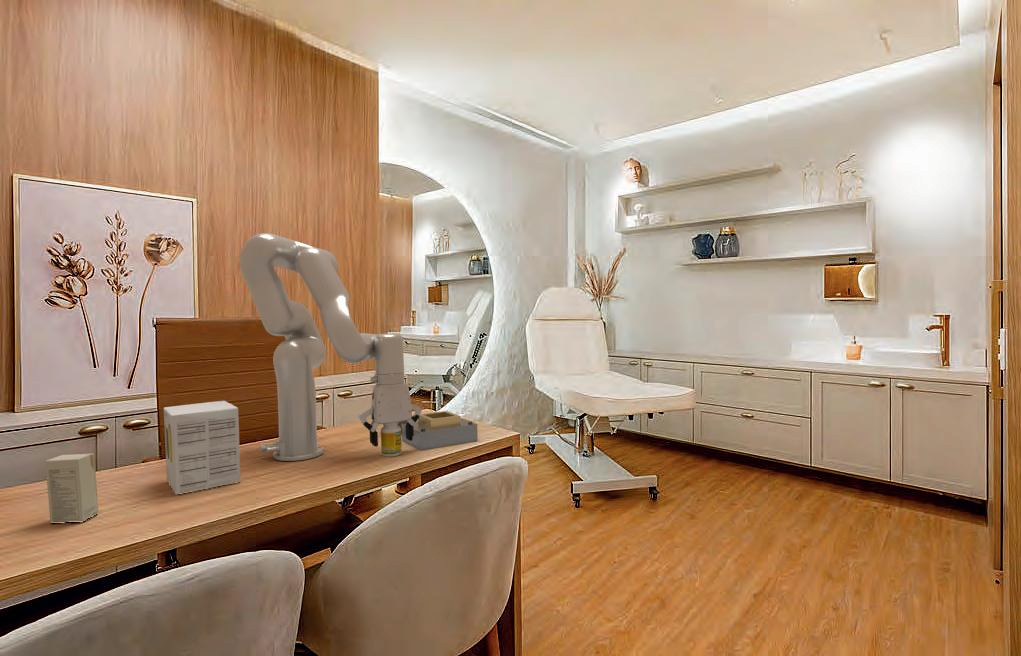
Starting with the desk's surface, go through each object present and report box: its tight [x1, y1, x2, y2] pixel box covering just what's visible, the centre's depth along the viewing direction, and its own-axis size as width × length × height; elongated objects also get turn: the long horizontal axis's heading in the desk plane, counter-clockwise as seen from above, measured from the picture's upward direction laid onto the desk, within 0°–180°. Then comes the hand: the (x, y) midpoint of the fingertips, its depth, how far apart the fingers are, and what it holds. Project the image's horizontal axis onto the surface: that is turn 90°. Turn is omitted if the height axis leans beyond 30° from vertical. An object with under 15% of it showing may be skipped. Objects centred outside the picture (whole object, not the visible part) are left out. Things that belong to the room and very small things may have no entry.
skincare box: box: [44, 452, 100, 522], centre depth 102 cm, size 6×4×12 cm
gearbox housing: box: [401, 410, 479, 451], centre depth 159 cm, size 18×14×8 cm
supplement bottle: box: [380, 422, 403, 458], centre depth 144 cm, size 5×5×10 cm
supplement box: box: [163, 400, 241, 495], centre depth 123 cm, size 13×13×18 cm
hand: (392, 442), depth 145 cm, fingers open, 9 cm apart
